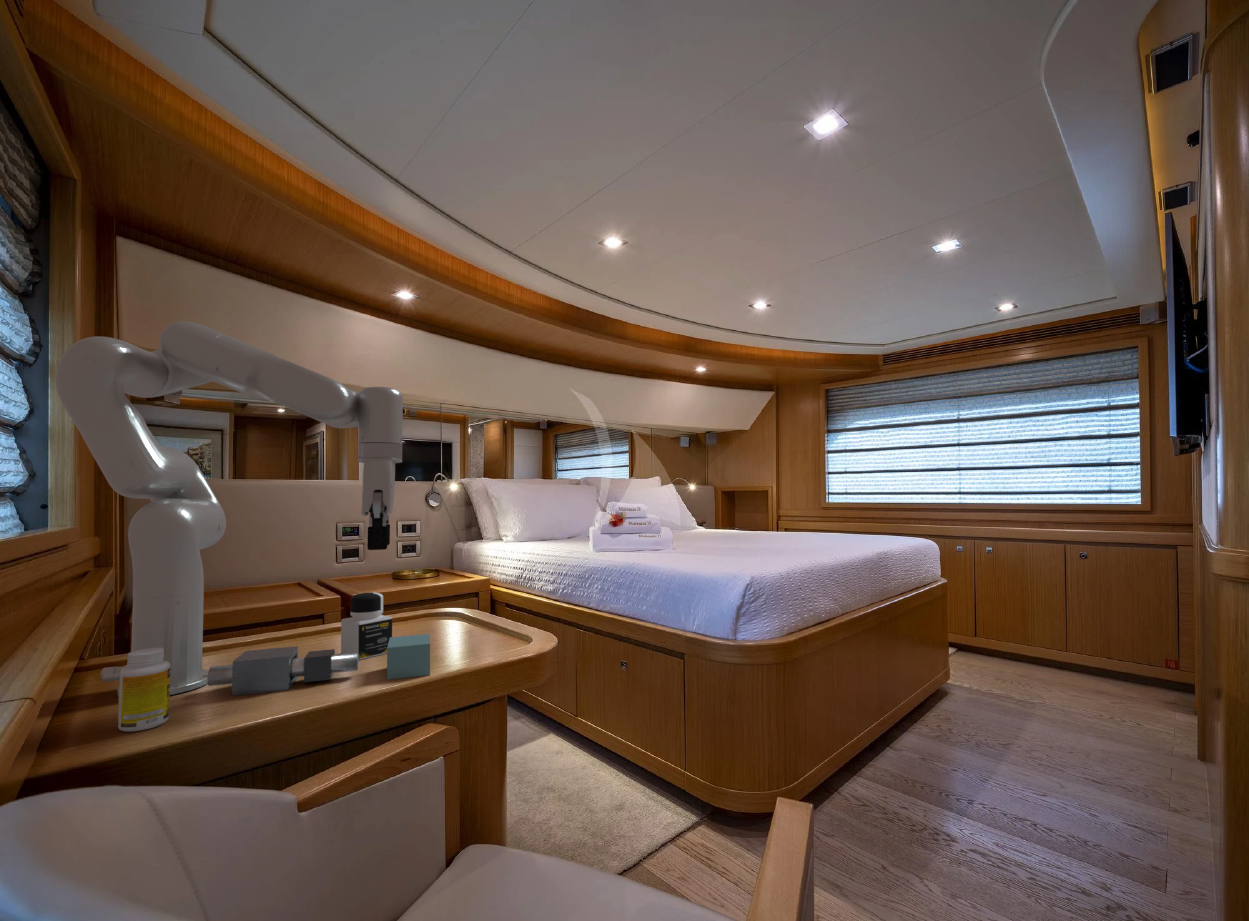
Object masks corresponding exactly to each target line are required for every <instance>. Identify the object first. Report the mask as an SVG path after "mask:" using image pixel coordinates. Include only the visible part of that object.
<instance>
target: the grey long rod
mask: <svg viewBox="0 0 1249 921" xmlns="http://www.w3.org/2000/svg"><path fill="white" fill-rule="evenodd" d="M335 649H336V648H335ZM335 649H324V650H321V649H320V650H311V651H309V652H308V653H307V654H306V655H305V656H304V657H298V658H295V659H292V660H291V661H290V677H298V678H299V677H303V683H310V682H318V681H319V682H320V681H328V680H331V679H332V678H333V676H334V674H336V673H346V672H347V673H348V672H355V671H359V663H360V660H359V653H348V654H341V653H340V654H335V651H336V650H335ZM232 669H233V664H223V665H213V666H210V667H209V669H208V670H209V671H208V676H207V685H208V687H212V686H221V685H230V684H232Z"/></svg>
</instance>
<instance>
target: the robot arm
mask: <svg viewBox="0 0 1249 921" xmlns="http://www.w3.org/2000/svg"><path fill="white" fill-rule="evenodd" d="M158 343H159V344H158V345H159V346H158V347H159V349H156V350H152V351H148V350H147V349H144V348H141V347H139V346H136V345H135V344H131V343H130V342H127V341H125V340H121V339H118V338H114V337H110V336H102V335H101V336H97V335H96V336H89V337H85V338H83V339H80V340H78V341H76V342H74V343H73V344H72V345H70V346H69V348H68V349H67V350H65V352H64V353H63V355H62V356H61V357H60V360H59V362H58V365H57V367H56V372H55V386H56V390H57V391H56V392H57V394H58V397H59V399H60V402H61V404H62V406H63V407H64V409H65V411H66V412H67V414H68V416H69V418H71V421H72V422H73V424H74V425H75V427H76V428H77V430H78V431H79V433H80V435H81V437H82V439H83V440H84V442H85V445H86V447H87V448H88V450H89V452H90V454H91V456H92V457H93V459H94V460H95V462H96V463H97V466H98V468H99V469H100V471H101V472H102V474H103V476H104V478H105V480H106V481H107V483H108V484H109V486H110V487H111V489H112V490H113V491H114V492H115V493H117V494H118V495H120V496H123V497H125V498H129V499H139V500H140V499H143V500H144V499H146V500H147V499H148V500H150V502H148V503H147V504H146V505H143V506H142V507H141V508H139V509H138V510H137V512H136V513H134V515H133V517H132V518H131V520H130V523H129V524H128V525H129V526H128V529H127V530H128V532H127V534H128V535H127V537H128V538H127V539H128V545H129V551H130V556H131V564H132V616H131V620H132V621H131V622H132V623H131V645H130V646H131V650H130V652H133V651H136V650H141V649H147V648H163V649H164V660H162V661H167V662H169V663H170V696H173V695H176V694H181V693H185V692H188V691H193V690H196V689H198V688H201V687H203V686H205V685H208V683H207V676H208V671H209V669H203V644H204V643H203V639H204V637H203V635H204V599H205V598H204V594H205V593H204V592H205V587H204V586H205V576H204V575H205V574H204V566H203V562H202V557H201V552H200V550H203V549H204V550H205V549H207V548H210V547H211V546H214V545H215V544H217V543H218V542H219V541H220V540H221V539H222V537H224V535H225V531H226V528H227V517H226V515H225V511H224V508H222V506H221V505H222V504H220V501H219V500H218V498H217V496H216V495H215V493H214V491H213V489H212V488H211V485H210V484H209V483H208V481H207V479H206V477H205V476H204V474H203V472H202V471H201V469H200V467H199V466H198V465H197V463H196V462H195V461H194V459H192V458H191V457H190V455H188V454H187V453H185V452H183V451H181V450H179V449H177V448H173V447H169V446H164V445H162V444H160V443H159V442H158V441H157V439H156V438H155V437H154V435H153V433H152V431H151V430H150V429H149V426H147V423H146V421H145V419H144V417H143V416H142V415H141V413H140V411H138V409H137V408H136V407H135V406H134V405H133V404H132V402H131V401H130V400H129V399H128V397H127V395H129V396H133V397H136V398H143V399H144V398H145V399H146V398H147V399H148V398H149V399H150V398H157V397H163V396H166V395H167V396H168V395H170V394H173V393H177V392H181V391H185V390H188V389H191V388H195V387H198V386H203V385H206V384H209V383H216V384H219V385H220V386H224V387H227V388H229V389H231V390H232V391H235V392H238V393H241V394H243V395H245V396H248V397H251V398H256V399H264V400H266V401H269V402H272V403H274V404H276V405H279V406H282V407H284V408H287V409H290V410H291V411H294V412H297V413H299V414H301V415H304V416H306V417H308V418H312V419H314V420H315V421H317V422H320V423H323V424H325V425H326V426H329V427H332V428H335V429H349V428H350V429H351V428H358V448H357V449H358V450H357V451H358V452H357V453H358V454H357V456H358V457H357V463H363V469H362V470H363V472H362V489H361V490H362V492H361V512H360V513H361V515H362V516H364V517H367V516H368V515H369V517H368V518H369V519H368V527H367V550H368V551H382V550H383V551H384V550H387V549H388V546H389V545H390V544H391V524H390V515H391V514H392V513H393V508H394V503H395V502H394V500H395V485H396V482H395V481H396V464H401V463H403V420H404V419H403V416H404V414H403V412H404V411H403V410H404V406H403V404H404V401H403V400H404V399H403V394H402V393H401V391H400V390H398V389H395V388H392V387H386V386H368V387H365V388H363V389H362V390H361V391H356V390H352V389H350V388H348V387H347V386H345V385H343V384H342V383H341V382H339V381H337V380H335V379H333V378H330V377H328V376H326V375H324V374H321V373H318V372H315V371H313V370H311V369H309V368H306V367H305V366H303V365H298V364H296V363H294V362H291V361H289V360H286V359H284V358H282V357H279V356H277V355H276V354H273V353H272V352H268V351H266V350H264V349H261V348H258V347H256V346H253V345H251V344H249V343H247V342H244V341H242V340H240V339H237V338H235V337H232V336H230V335H228V334H225V333H223V332H220V331H218V330H215V329H213V328H211V327H209V326H206V325H203V324H200V323H197V322H193V321H187V320H185V321H183V320H180V321H177V322H173V323H171V324H168V325H167V326H166V327H165V328H164V329H163V330H162V331H161V333H160V335H159V338H158ZM127 666H128V665H127V664H126V665H124V666H110V667H103V668H102V670H101V672H100V679H101V680H102V682H103V683H107V682H115V681H119V675H120V671H121V670H122V669H123V668H125V667H127ZM117 697H119V686H118V687H117Z"/></svg>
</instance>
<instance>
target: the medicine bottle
mask: <svg viewBox="0 0 1249 921" xmlns="http://www.w3.org/2000/svg"><path fill="white" fill-rule="evenodd" d="M383 613H384V595H383V594H382V593H380V592H374V591H373V592H370V591H369V592H360V593H356V594H354V595H352V596H351V598H350V616H351V617H347V618H346V617H345V618H342V619H341V621H340V622H341V624H340V654H348V653H359V661H362V660H365V659H366V660H367V659H370V658H375V657H378V656H382V655H387V647H388V643H389V639H390V637H393V617H392V616H389V615H384V614H383Z"/></svg>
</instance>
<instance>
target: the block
mask: <svg viewBox="0 0 1249 921" xmlns="http://www.w3.org/2000/svg"><path fill="white" fill-rule="evenodd" d="M386 655H387V656H386V680H388V681H389V680H390V681H391V680H396V679H407V678H415V677H425V676H430V675H431V633H425V634H424V633H423V634H412V635H403V636H402V635H400V636H392V637H390V639H389V643H388V647H387V654H386Z"/></svg>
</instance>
